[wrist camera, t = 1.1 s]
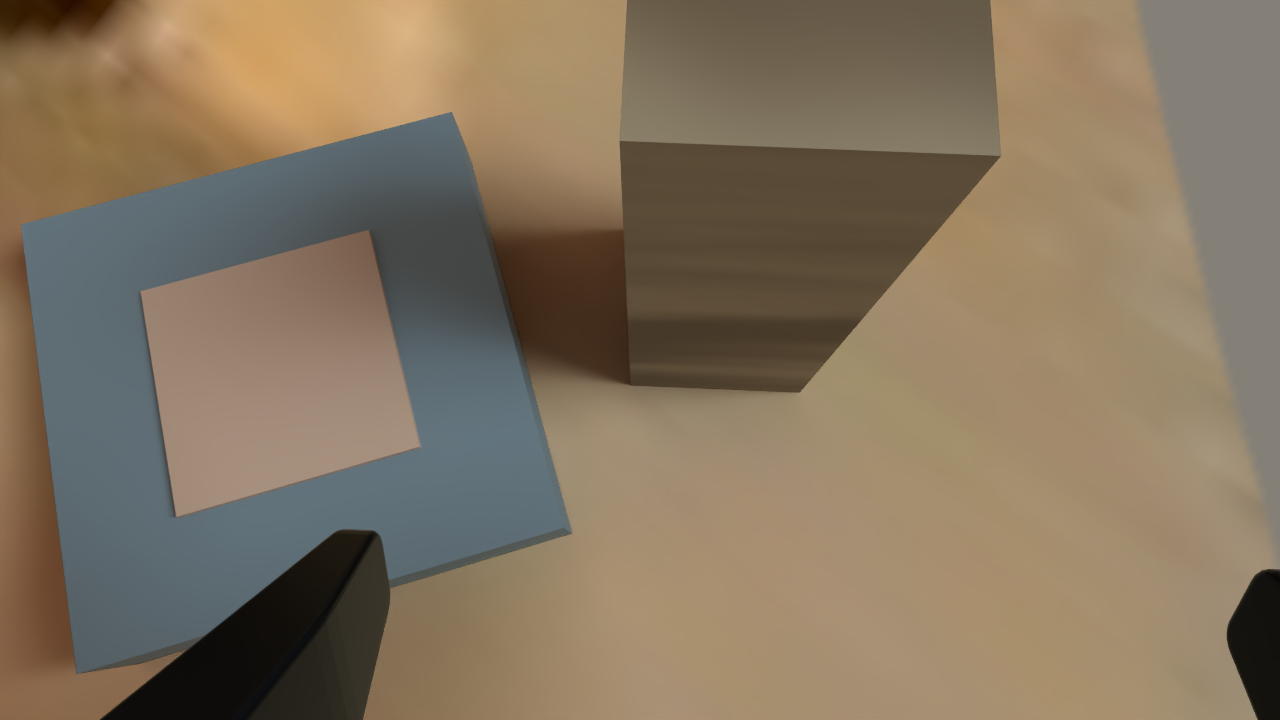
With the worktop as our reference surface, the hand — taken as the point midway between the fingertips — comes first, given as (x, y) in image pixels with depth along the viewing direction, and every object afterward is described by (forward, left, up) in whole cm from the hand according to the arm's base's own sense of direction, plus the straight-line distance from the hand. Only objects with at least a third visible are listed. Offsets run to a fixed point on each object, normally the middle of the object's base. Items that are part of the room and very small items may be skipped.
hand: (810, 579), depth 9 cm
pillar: (+5, -6, -13) cm, 15 cm away
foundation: (+11, +3, -13) cm, 17 cm away
